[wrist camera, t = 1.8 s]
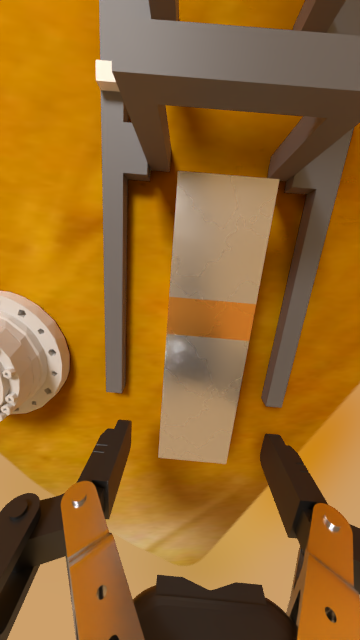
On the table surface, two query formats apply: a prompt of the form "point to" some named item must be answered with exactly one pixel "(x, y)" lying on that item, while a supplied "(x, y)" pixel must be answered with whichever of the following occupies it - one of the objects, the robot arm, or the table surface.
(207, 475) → the table surface
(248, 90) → the collar frame
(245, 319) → the bar
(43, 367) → the mechanical component
